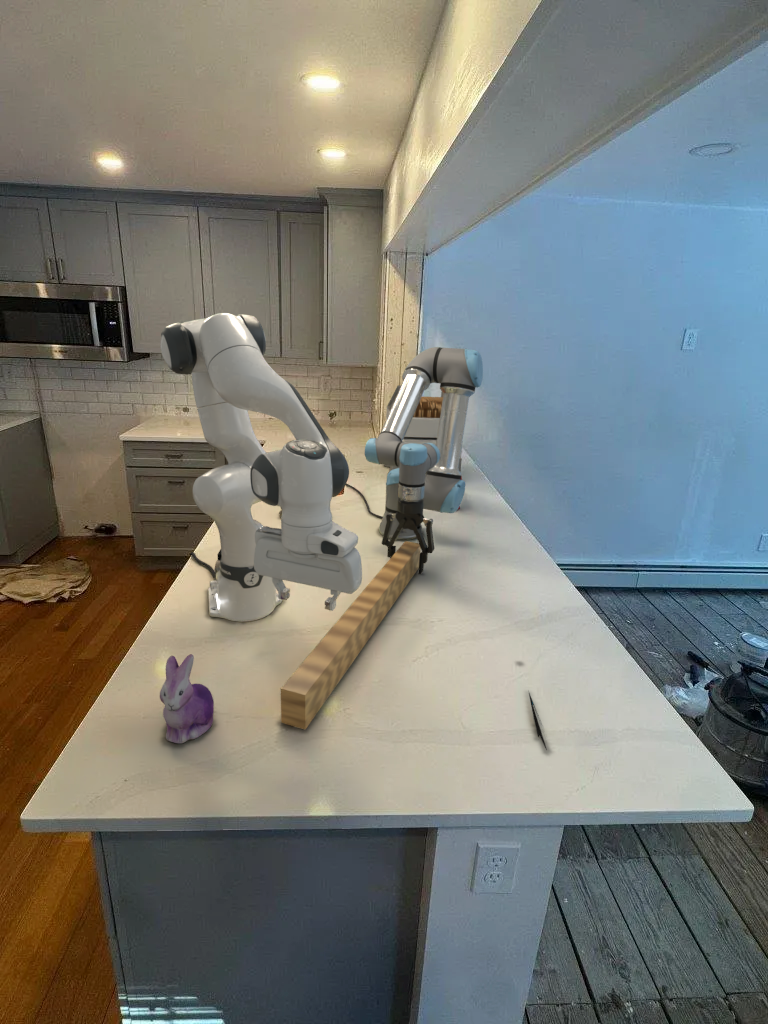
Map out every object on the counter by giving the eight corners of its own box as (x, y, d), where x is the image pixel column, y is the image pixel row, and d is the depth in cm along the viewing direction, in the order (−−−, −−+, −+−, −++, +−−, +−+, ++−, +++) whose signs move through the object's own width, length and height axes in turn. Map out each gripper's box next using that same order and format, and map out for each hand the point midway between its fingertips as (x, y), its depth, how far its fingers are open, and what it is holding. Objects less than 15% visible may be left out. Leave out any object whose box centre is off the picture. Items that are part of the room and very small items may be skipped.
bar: (403, 563, 177) (405, 540, 174) (419, 566, 175) (421, 543, 172) (281, 722, 107) (280, 688, 105) (305, 729, 106) (305, 695, 103)
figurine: (167, 753, 99) (159, 681, 94) (159, 717, 107) (151, 649, 102) (222, 737, 103) (217, 667, 98) (210, 703, 111) (205, 637, 106)
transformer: (382, 463, 289) (386, 382, 275) (445, 464, 293) (451, 384, 279) (390, 482, 257) (394, 392, 243) (460, 483, 261) (468, 394, 247)
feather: (520, 667, 129) (525, 661, 129) (546, 754, 103) (553, 747, 102) (514, 663, 129) (519, 657, 129) (538, 750, 103) (545, 742, 102)
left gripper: (245, 530, 100) (248, 599, 104) (353, 550, 94) (350, 623, 98) (264, 518, 105) (266, 585, 110) (366, 537, 99) (364, 606, 104)
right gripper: (371, 496, 162) (369, 568, 170) (443, 507, 156) (437, 581, 164) (380, 489, 169) (377, 558, 177) (449, 499, 163) (443, 571, 170)
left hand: (306, 603), depth 104 cm, fingers open, 8 cm apart
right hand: (406, 569), depth 170 cm, fingers open, 8 cm apart
